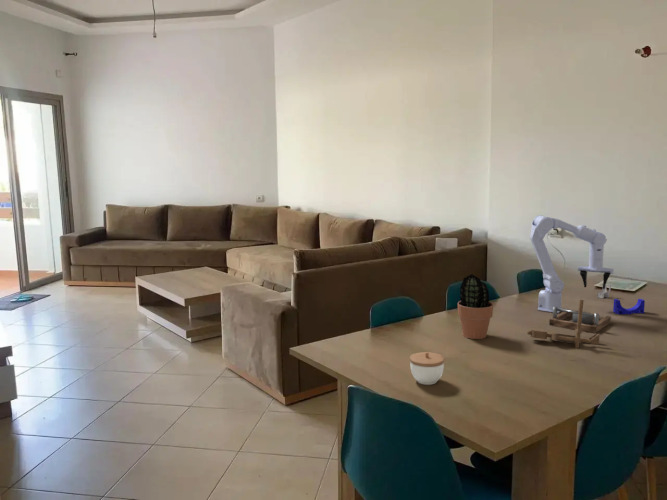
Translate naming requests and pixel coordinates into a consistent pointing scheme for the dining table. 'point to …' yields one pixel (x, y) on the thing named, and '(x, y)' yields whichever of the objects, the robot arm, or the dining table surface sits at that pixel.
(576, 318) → the grey round dome
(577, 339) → the wooden figure
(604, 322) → the frame
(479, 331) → the potted plant
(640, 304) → the blue curved piece
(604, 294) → the architectural model
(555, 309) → the metal handle
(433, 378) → the lidded jar
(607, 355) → the dining table surface
